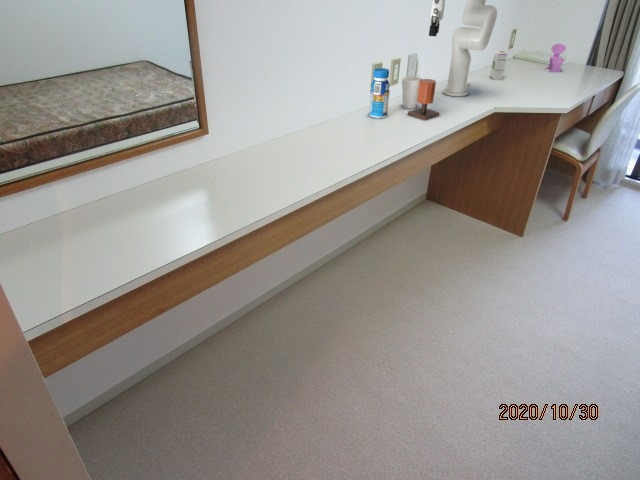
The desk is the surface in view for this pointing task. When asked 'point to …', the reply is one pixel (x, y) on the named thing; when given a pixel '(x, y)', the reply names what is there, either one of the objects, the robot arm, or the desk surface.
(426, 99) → the cup
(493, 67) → the syrup box
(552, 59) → the pink figurine
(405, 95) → the foam cup
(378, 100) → the beverage bottle
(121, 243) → the desk surface
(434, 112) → the holder
